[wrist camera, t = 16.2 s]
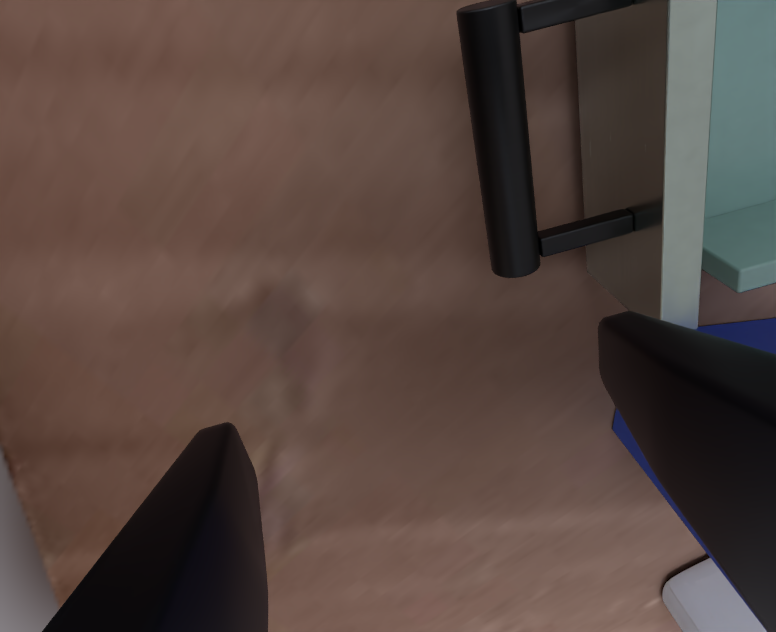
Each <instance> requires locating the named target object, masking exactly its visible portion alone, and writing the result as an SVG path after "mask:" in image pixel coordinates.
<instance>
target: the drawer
mask: <svg viewBox="0 0 776 632" xmlns="http://www.w3.org/2000/svg"><path fill="white" fill-rule="evenodd" d="M456 14H457V21H458V29H459V36H460V43H461V50H462V57H463V65H464V72H465V79H466V86H467V94H468V101H469V108H470V115H471V123H472V130H473V137H474V144H475V152H476V159H477V166H478V173H479V181H480V188H481V195H482V202H483V210H484V217H485V224H486V231H487V239H488V246H489V253H490V260H491V267H492V271H493V272H494V273H495V274H496V275H498V276H501V277H505V278H517V277H523V276H526V275H529V274H531V273H533V272H535V271H536V270H537V269H538V268H539V266H540V255H541V256H542V257H545V256H549V255H553V254H556V253H560V252H564V251H567V250H571V249H575V248H578V247H582V246H586V262H587V273H588V274H590V275H591V276H592V277H593V278H594V279H595V280H596V281H597V282H598V283H599V284H600V285H602V286H603V287H604V288H605V289H606V290H607V291H608V292H609V293H610V294H611V295H612V296H614V297H615V298H616V299H617V300H618V301H619V302H620V303H621V304H622V305H623V306H624V307H626V308H627V309H628V310H629V311H633V312H637V313H640V314H643V315H647V316H650V317H653V318H657V319H660V320H663V321H667V322H670V323H673V324H677V325H680V326H683V327H687V328H690V329H693V330H696V329H698V318H699V302H700V285H701V269H702V270H704V271H705V272H707V273H708V274H710V275H711V276H713V277H714V278H716V279H717V280H719V281H720V282H722V283H723V284H725V285H726V286H728V287H729V288H731V289H732V290H734V291H735V292H737V293H741V292H745V291H749V290H752V289H756V288H759V287H763V286H766V285H770V284H774V283H776V0H533V1H529V2H525V3H521V4H517V1H516V0H489V1H484V2H480V3H476V4H472V5H469V6H466V7H463V8H461V9H459V10H457V13H456ZM574 20H575V32H576V53H577V74H578V95H579V115H580V136H581V157H582V178H583V199H584V219H582V220H579V221H575V222H571V223H568V224H564V225H560V226H557V227H553V228H549V229H546V230H542V231H537V220H536V209H535V198H534V187H533V177H532V166H531V155H530V144H529V133H528V122H527V111H526V100H525V89H524V78H523V67H522V56H521V45H520V34H519V32H520V33H527V32H531V31H535V30H539V29H543V28H547V27H551V26H555V25H558V24H562V23H566V22H570V21H574Z"/></svg>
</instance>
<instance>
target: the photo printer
mask: <svg viewBox="0 0 776 632" xmlns="http://www.w3.org/2000/svg"><path fill="white" fill-rule="evenodd" d="M662 597H663V601H664V603H665V605H666V607H667V608H668V610H669V611H670V613H671V615H672V616H673V618H674V619H675V621H676V622H677V624H678V625H679V627H680V628H681V630H682V631H683V632H767V631H766V630H765V629H764V627H763V626H762V625H761V623H760V622H759V621H758V619H757V618H756V617H755V615H754V614H753V613H752V612H751V610H750V609H749V608H748V606H747V605H746V604H745V602H744V601H743V600H742V598H741V597H740V596H739V595H738V593H737V592H736V591H735V589H734V588H733V587H732V585H731V584H730V583H729V581H728V580H727V579H726V578H725V576H724V575H723V574H722V572H721V571H720V570H719V568H718V567H717V566H716V564H715V563H714V562H713V561H712V559H711V558H708V559H706V560H704V561H702V562H700V563H698V564H696V565H694V566H692V567H690V568H688V569H686V570H684V571H683V572H681V573H679V574H677V575H676V576H674V577H672V578H671V579H670V580H669V581H667V582H666V584H665V586H664V588H663V593H662Z"/></svg>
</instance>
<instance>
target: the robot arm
mask: <svg viewBox="0 0 776 632" xmlns="http://www.w3.org/2000/svg"><path fill="white" fill-rule="evenodd" d="M598 344H599V369H600V375H601V378H602V381H603V384H604V386H605V388H606V390H607V391H608V393H609V395H610V397H611V399H612V400H613V402H614V404H615V406H616V407H617V409H618V411H619V413H620V414H621V416H622V418H623V420H624V422H625V423H626V425H627V427H628V429H629V430H630V432H631V434H632V436H633V437H634V439H635V441H636V443H637V445H638V446H639V448H640V450H641V452H642V453H643V455H644V457H645V459H646V460H647V462H648V464H649V466H650V467H651V469H652V471H653V472H654V474H655V476H656V477H657V479H658V480H659V482H660V483H661V485H662V486H663V488H664V489H665V491H666V492H667V494H668V495H669V496H670V498H671V499H672V501H673V502H674V503H675V505H676V506H677V507H678V509H679V510H680V512H681V513H682V514H683V516H684V517H685V518H686V520H687V521H688V523H689V524H690V525H691V527H692V528H693V529H694V531H695V532H696V534H697V535H698V536H699V538H700V539H701V540H702V542H703V543H704V545H705V546H706V547H707V549H708V550H709V551H710V553H711V554H712V556H713V557H714V558H715V560H716V561H717V563H718V564H719V565H720V567H721V568H722V569H723V571H724V572H725V574H726V575H727V576H728V578H729V579H730V580H731V582H732V583H733V585H734V586H735V587H736V589H737V590H738V591H739V593H740V594H741V596H742V597H743V598H744V600H745V601H746V602H747V604H748V605H749V607H750V608H751V609H752V611H753V612H754V613H755V615H756V616H757V618H758V619H759V620H760V622H761V623H762V624H763V626H764V627H765V629H766V630H767V631H768V632H776V354H774V353H770V352H767V351H764V350H760V349H757V348H754V347H750V346H747V345H744V344H740V343H737V342H734V341H730V340H727V339H724V338H720V337H717V336H713V335H710V334H707V333H703V332H700V331H697V330H693V329H690V328H687V327H683V326H680V325H677V324H673V323H670V322H667V321H663V320H660V319H657V318H653V317H650V316H647V315H643V314H640V313H637V312H633V311H626V312H623V313H619V314H616V315H612V316H609V317H605V318H603V319H602V320H601V321H600V322H599V326H598ZM42 632H268V585H267V573H266V563H265V553H264V542H263V532H262V522H261V512H260V502H259V492H258V483H257V477H256V474H255V470H254V467H253V465H252V462H251V460H250V458H249V456H248V454H247V451H246V449H245V447H244V445H243V442H242V440H241V438H240V436H239V433H238V431H237V429H236V428H235V426H234V425H233V424H231V423H229V422H226V423H222V424H219V425H215V426H211V427H208V428H204V429H202V430H200V431H199V432H198V433H197V434H196V435H195V436H194V438H193V439H192V440H191V441H190V443H189V444H188V445H187V447H186V448H185V449H184V450H183V452H182V453H181V454H180V456H179V457H178V458H177V459H176V461H175V462H174V463H173V464H172V466H171V467H170V468H169V470H168V471H167V472H166V473H165V475H164V476H163V477H162V479H161V480H160V481H159V482H158V484H157V485H156V486H155V488H154V489H153V490H152V491H151V493H150V494H149V495H148V497H147V498H146V499H145V500H144V502H143V503H142V504H141V505H140V507H139V508H138V509H137V511H136V512H135V513H134V514H133V516H132V517H131V518H130V520H129V521H128V522H127V523H126V525H125V526H124V527H123V529H122V530H121V531H120V532H119V534H118V535H117V536H116V538H115V539H114V540H113V541H112V543H111V544H110V545H109V546H108V548H107V549H106V550H105V552H104V553H103V554H102V555H101V557H100V558H99V559H98V561H97V562H96V563H95V564H94V566H93V567H92V568H91V570H90V571H89V572H88V573H87V575H86V576H85V577H84V578H83V580H82V581H81V582H80V584H79V585H78V586H77V587H76V589H75V590H74V591H73V593H72V594H71V595H70V596H69V598H68V599H67V600H66V602H65V603H64V604H63V605H62V607H61V608H60V609H59V611H58V612H57V613H56V614H55V616H54V617H53V618H52V620H51V621H50V622H49V623H48V625H47V626H46V627H45V628H44V630H43V631H42Z"/></svg>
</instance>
